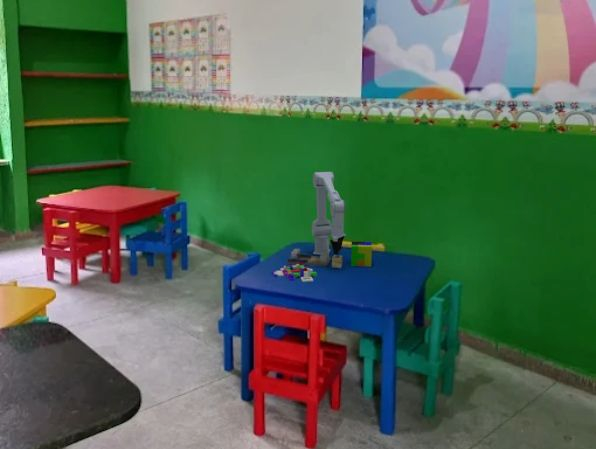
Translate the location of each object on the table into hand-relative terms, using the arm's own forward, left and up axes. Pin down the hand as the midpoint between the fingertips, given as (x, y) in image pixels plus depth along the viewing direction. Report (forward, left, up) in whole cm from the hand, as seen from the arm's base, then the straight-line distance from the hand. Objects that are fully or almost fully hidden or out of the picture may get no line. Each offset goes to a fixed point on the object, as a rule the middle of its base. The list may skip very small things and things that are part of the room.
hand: (337, 252), depth 305 cm
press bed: (-4, -15, -7) cm, 17 cm away
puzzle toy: (-8, +11, -8) cm, 16 cm away
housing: (0, 0, -8) cm, 8 cm away
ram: (-4, -22, -6) cm, 23 cm away
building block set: (+16, -19, -8) cm, 26 cm away
